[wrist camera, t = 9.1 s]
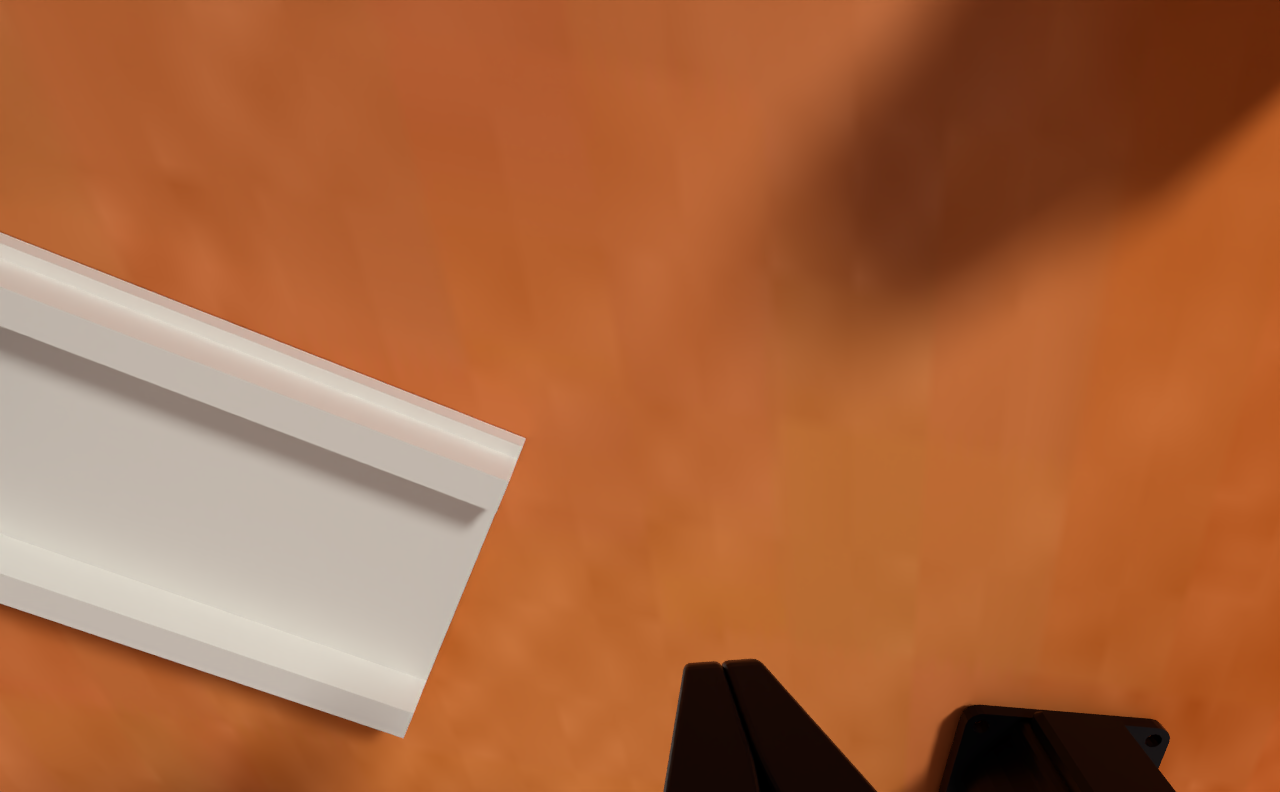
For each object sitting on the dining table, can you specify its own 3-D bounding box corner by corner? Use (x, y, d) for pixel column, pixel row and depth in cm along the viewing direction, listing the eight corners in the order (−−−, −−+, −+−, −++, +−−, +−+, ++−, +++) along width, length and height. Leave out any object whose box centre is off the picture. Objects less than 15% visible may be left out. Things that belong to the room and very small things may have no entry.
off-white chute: (526, 438, 22) (514, 468, 20) (418, 700, 25) (399, 748, 23) (-20, 224, 20) (-89, 235, 18) (-62, 536, 23) (-124, 574, 21)
